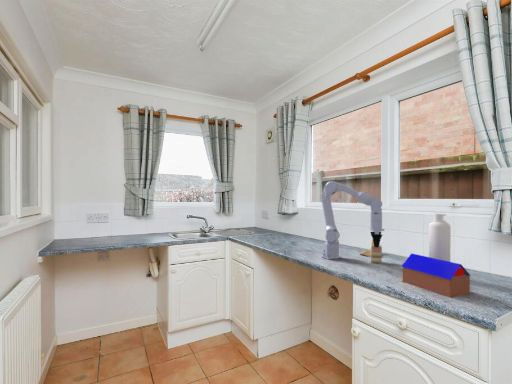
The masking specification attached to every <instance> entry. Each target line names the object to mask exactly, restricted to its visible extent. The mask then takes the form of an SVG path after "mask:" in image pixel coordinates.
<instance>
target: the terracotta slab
mask: <svg viewBox="0 0 512 384" xmlns="http://www.w3.org/2000/svg"><path fill="white" fill-rule="evenodd" d="M370 249H371V252H380V253H382V251H383V250H382V249H383V246H382V245H381V244H379V247H374V245H372V244H371V246H370Z"/></svg>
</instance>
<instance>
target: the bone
mask: <svg viewBox="0 0 512 384" xmlns="http://www.w3.org/2000/svg"><path fill="white" fill-rule="evenodd" d="M371 245H374V243H373V239H372V240H371ZM359 255H363V256H365V257H369V258H371V248H370V249H369V250H364V251H361V252H359Z"/></svg>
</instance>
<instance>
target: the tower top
mask: <svg viewBox="0 0 512 384" xmlns="http://www.w3.org/2000/svg"><path fill="white" fill-rule="evenodd" d="M371 257H372V258H381V259H382V253H380V252H371ZM371 257H370V258H371Z"/></svg>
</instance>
